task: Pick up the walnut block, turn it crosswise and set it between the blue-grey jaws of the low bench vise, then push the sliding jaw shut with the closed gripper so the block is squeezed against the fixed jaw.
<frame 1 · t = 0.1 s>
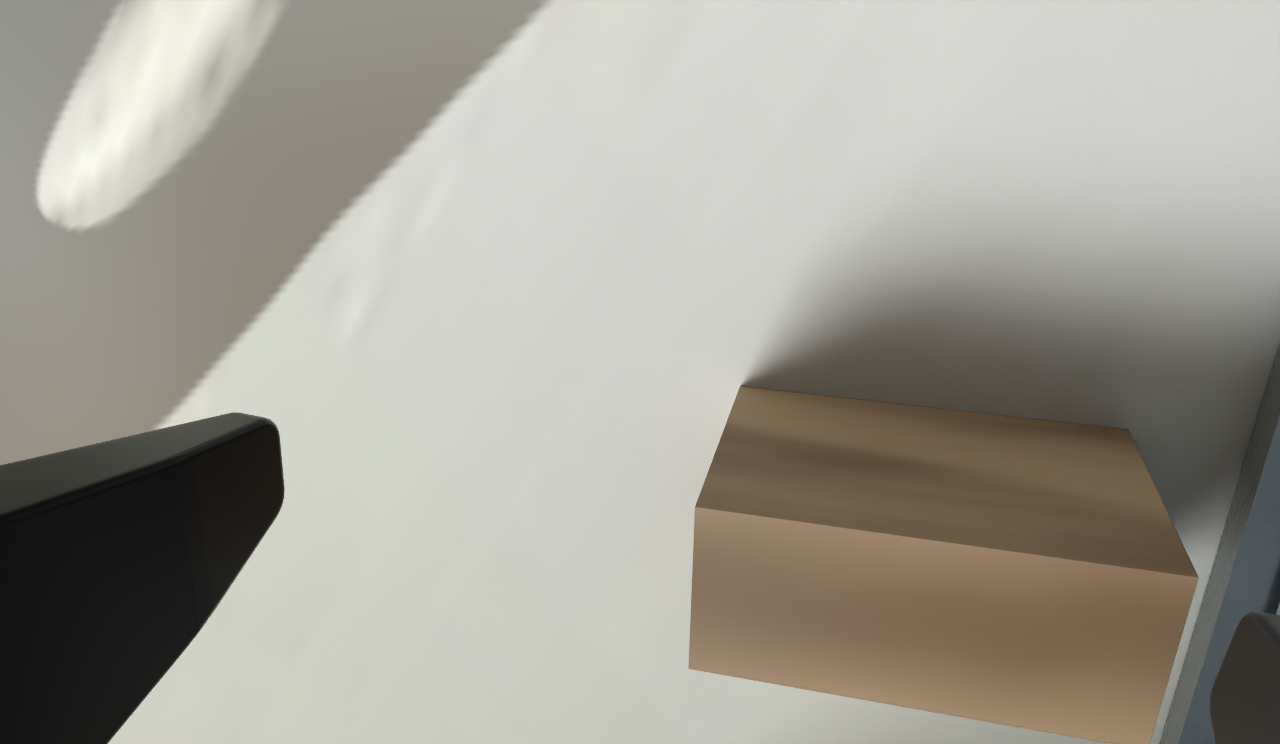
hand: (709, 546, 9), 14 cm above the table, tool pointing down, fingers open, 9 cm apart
walnut block: (915, 477, 24), on the table
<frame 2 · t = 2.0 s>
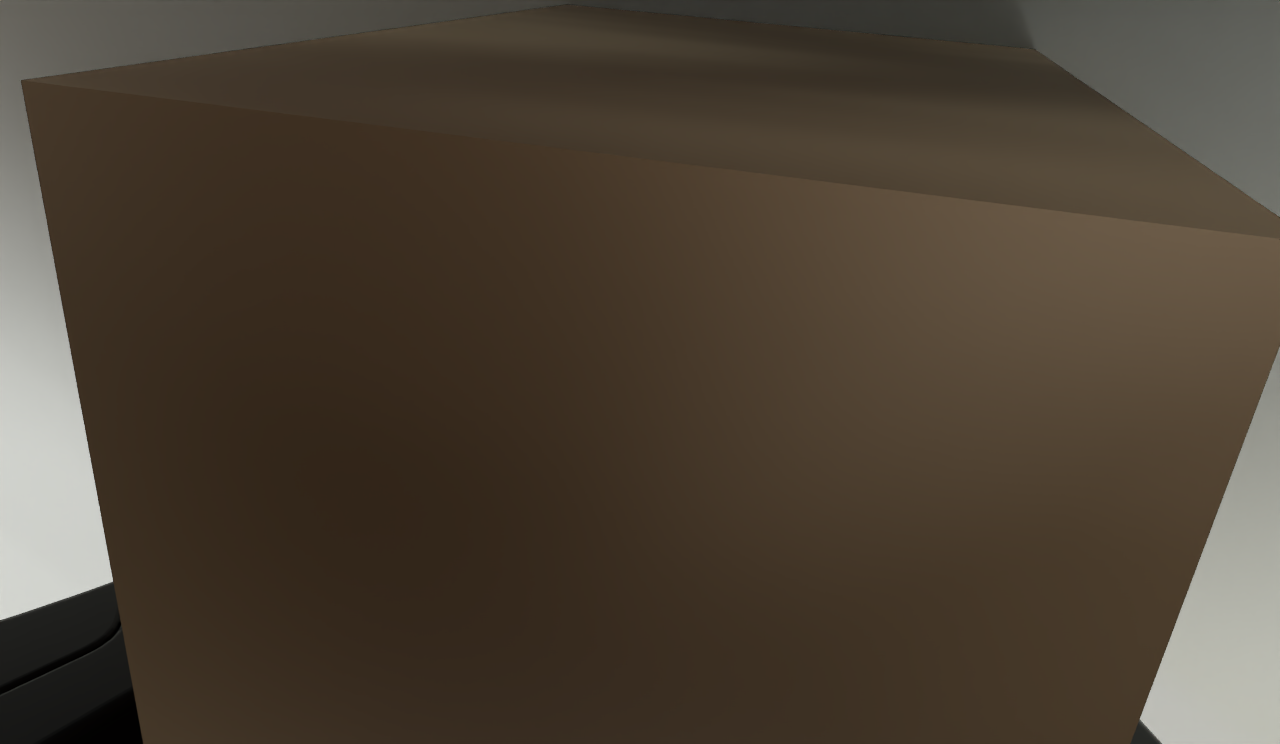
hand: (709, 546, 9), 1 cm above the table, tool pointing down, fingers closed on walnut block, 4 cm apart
walnut block: (731, 479, 10), on the table, touching gripper
when the fingers open (3 cm above the table, at t = 6.6 s): walnut block stays where it is, resting on vise bed.
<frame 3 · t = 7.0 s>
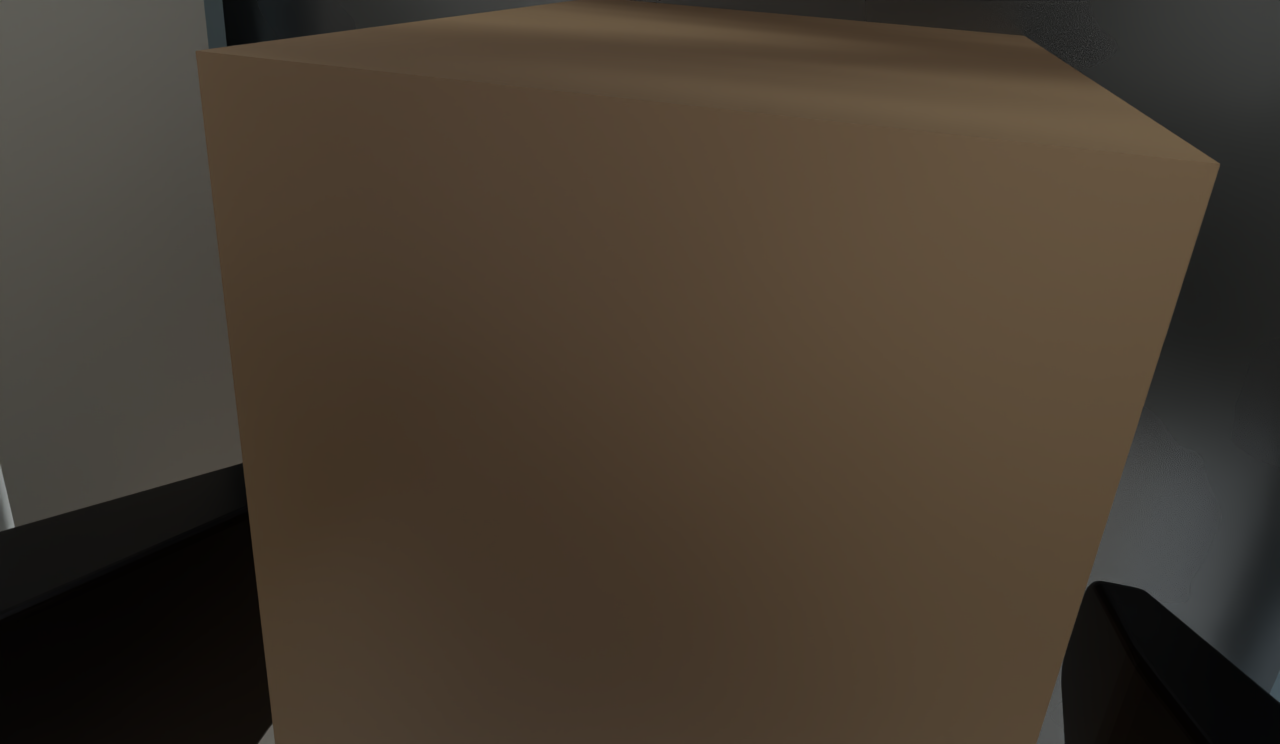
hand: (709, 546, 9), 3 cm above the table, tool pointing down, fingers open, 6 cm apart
fixed jaw: (601, 376, 12), resting on vise bed
vise bed: (601, 376, 12), on the table
walnut block: (746, 438, 11), point 1 cm above the table, touching vise bed
moving jaw: (25, 417, 10), point 3 cm above the table, slide at 0.0 cm
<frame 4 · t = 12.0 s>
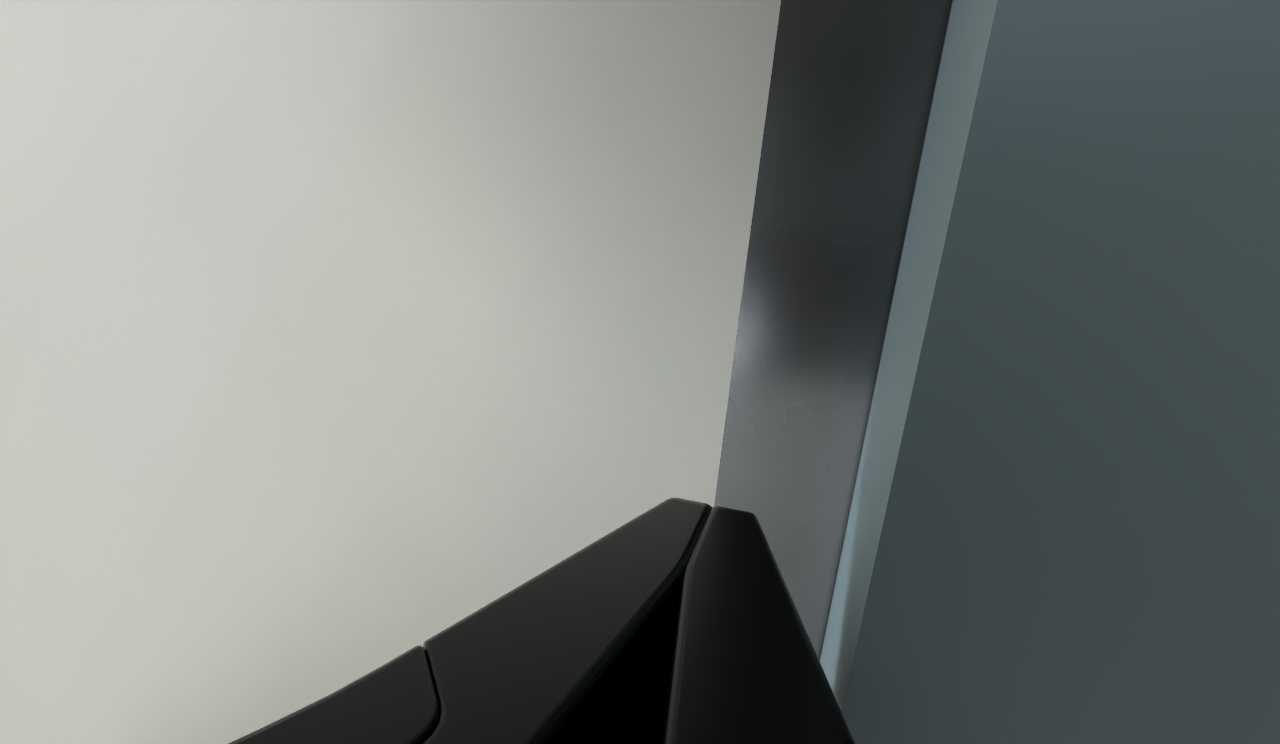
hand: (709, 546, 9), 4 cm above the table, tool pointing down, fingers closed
moving jaw: (1037, 611, 9), point 3 cm above the table, slide at 0.6 cm, touching gripper
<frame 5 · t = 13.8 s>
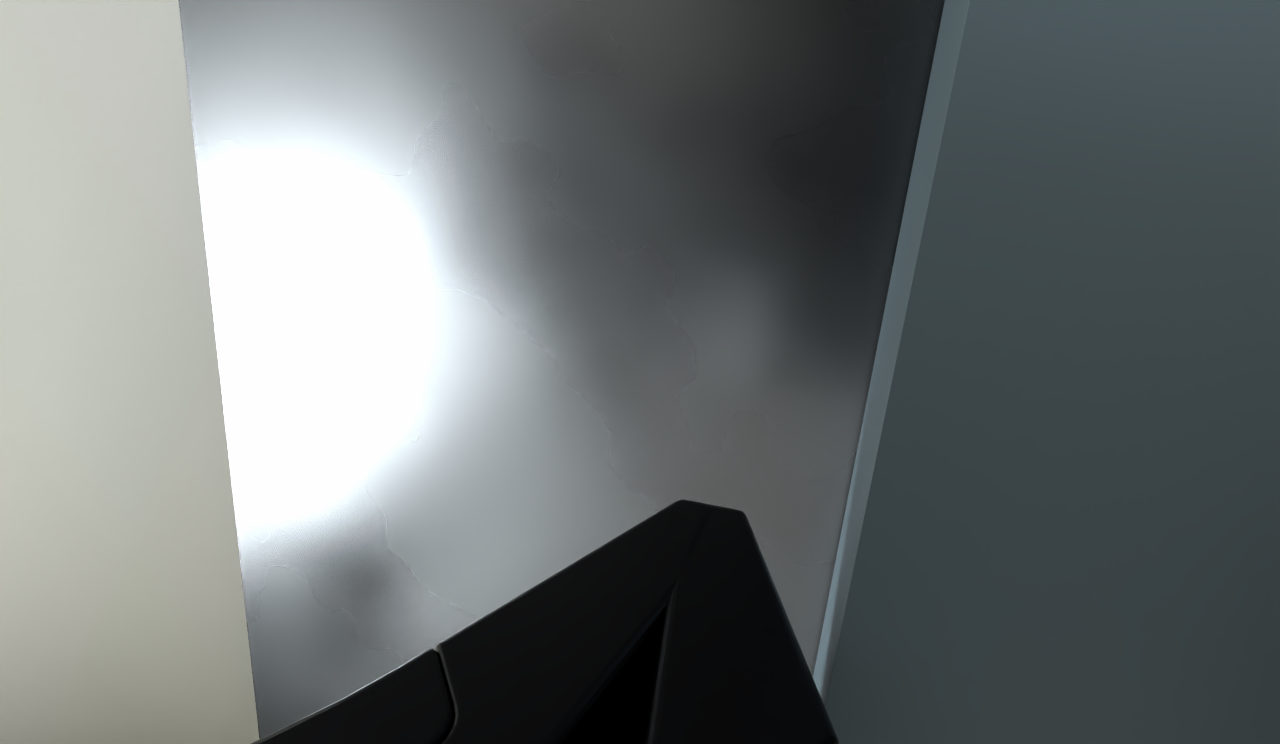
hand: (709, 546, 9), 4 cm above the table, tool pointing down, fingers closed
vise bed: (827, 410, 12), on the table
moving jaw: (1027, 611, 9), point 3 cm above the table, slide at 7.4 cm, touching gripper, walnut block
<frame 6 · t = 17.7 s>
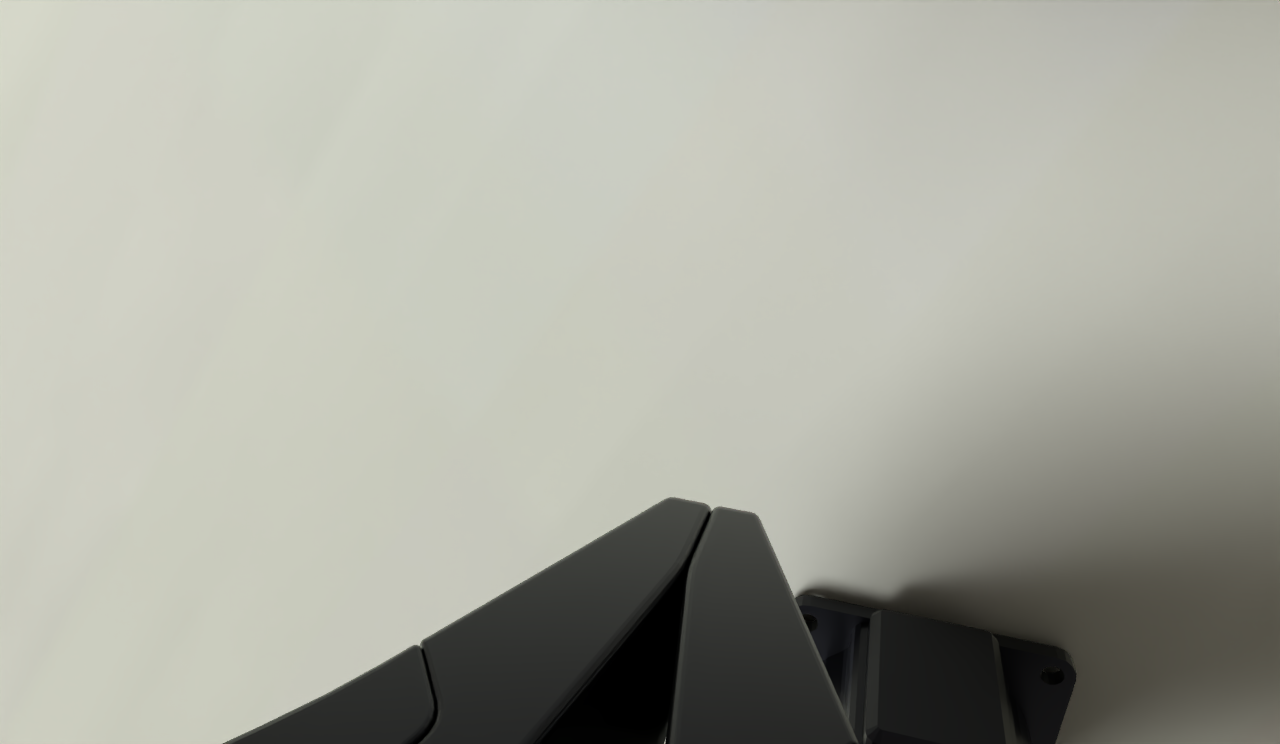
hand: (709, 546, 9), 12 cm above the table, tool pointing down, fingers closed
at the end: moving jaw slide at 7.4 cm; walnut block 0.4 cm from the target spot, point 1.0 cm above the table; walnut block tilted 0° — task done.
